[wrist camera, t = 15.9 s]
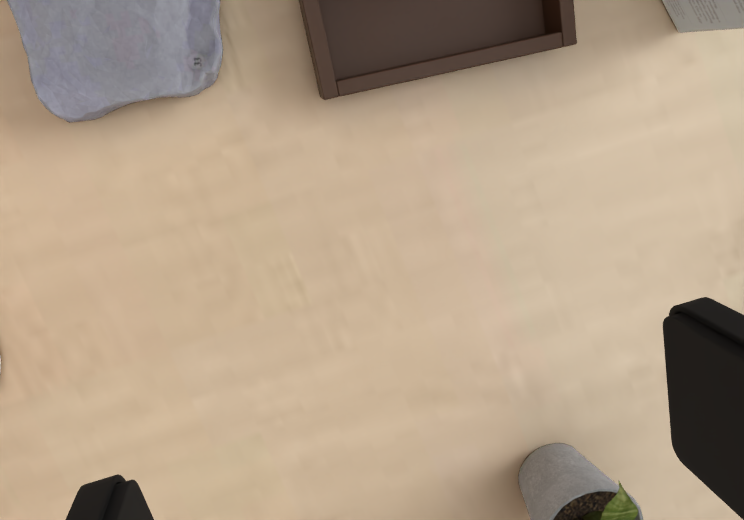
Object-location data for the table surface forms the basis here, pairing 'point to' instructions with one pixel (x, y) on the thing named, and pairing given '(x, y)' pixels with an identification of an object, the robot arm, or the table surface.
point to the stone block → (117, 51)
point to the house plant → (571, 488)
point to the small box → (706, 14)
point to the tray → (424, 37)
